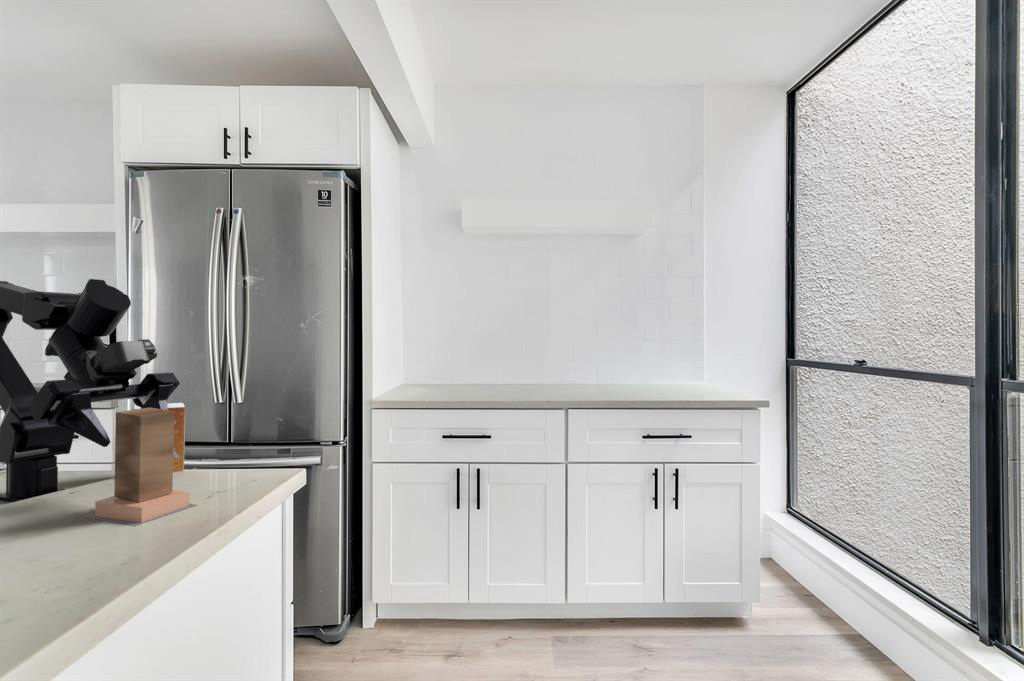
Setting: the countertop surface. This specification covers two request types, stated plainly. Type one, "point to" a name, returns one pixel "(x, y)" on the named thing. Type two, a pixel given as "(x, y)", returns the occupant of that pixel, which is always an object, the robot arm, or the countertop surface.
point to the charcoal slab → (133, 521)
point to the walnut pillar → (144, 454)
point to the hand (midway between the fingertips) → (139, 438)
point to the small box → (177, 434)
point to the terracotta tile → (141, 507)
